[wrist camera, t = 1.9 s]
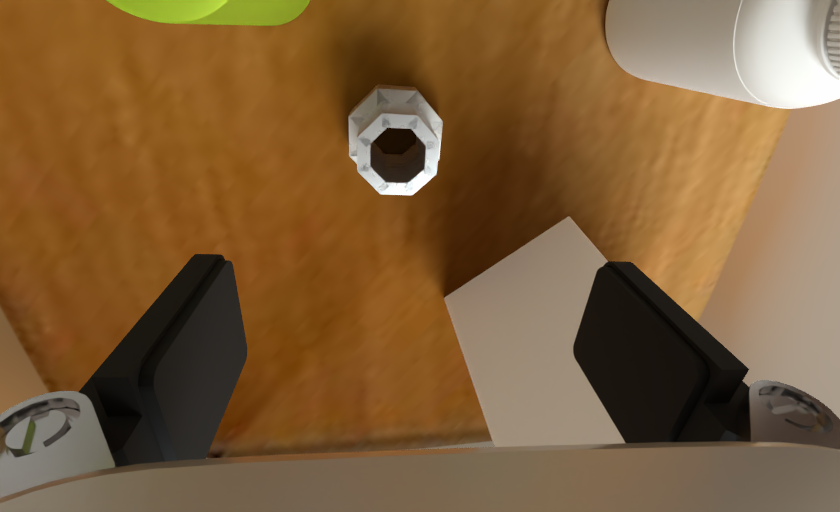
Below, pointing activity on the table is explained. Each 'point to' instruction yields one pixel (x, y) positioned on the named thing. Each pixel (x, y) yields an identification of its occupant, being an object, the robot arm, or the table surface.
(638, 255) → the table surface
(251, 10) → the soap dispenser
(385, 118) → the octagonal collar pipe
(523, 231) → the table surface
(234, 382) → the robot arm
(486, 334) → the milk
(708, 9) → the pill bottle
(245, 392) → the table surface
